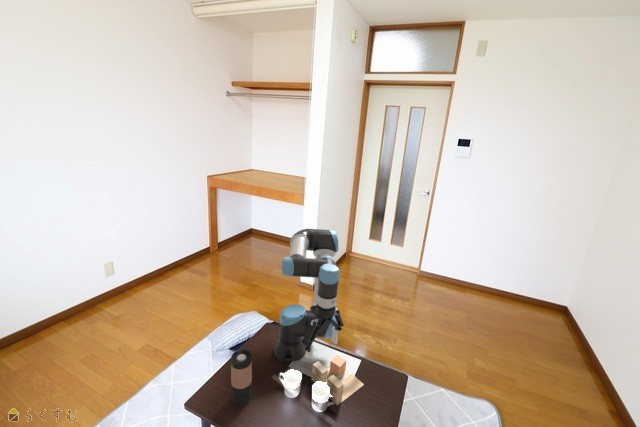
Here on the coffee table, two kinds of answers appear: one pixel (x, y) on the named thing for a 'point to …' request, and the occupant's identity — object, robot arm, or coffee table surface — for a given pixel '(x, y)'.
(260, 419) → the coffee table surface
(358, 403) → the coffee table surface
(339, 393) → the wooden l-shaped block
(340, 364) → the cube
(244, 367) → the travel mug
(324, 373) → the wooden slider
